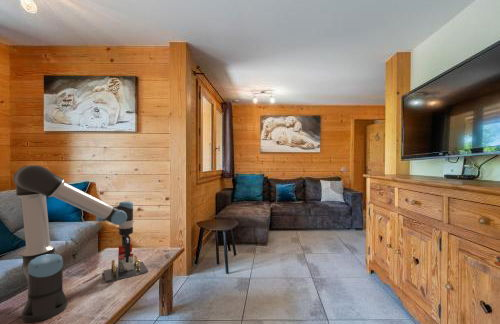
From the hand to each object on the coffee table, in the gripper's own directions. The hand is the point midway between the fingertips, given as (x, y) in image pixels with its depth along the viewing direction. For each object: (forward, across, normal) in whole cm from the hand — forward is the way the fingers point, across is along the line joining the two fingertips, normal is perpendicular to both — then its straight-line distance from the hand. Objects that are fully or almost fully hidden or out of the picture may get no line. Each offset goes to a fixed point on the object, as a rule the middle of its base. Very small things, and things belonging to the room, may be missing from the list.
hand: (125, 265), depth 143 cm
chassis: (+4, 0, 0) cm, 4 cm away
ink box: (+3, 0, 0) cm, 3 cm away
